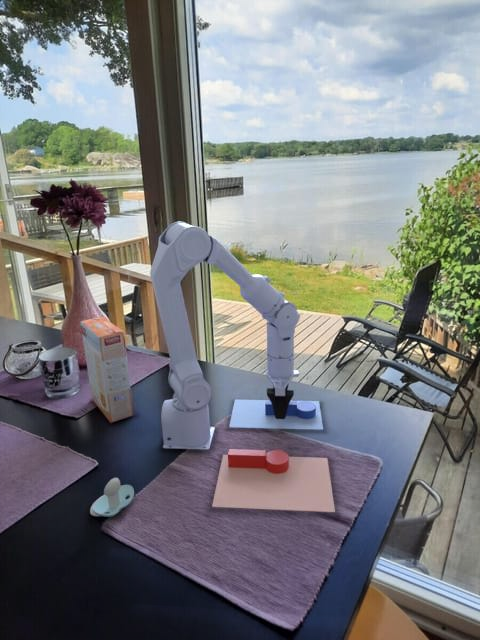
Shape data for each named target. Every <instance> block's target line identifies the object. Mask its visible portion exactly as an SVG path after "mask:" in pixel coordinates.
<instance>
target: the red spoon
mask: <svg viewBox="0 0 480 640" xmlns="http://www.w3.org/2000/svg"><path fill="white" fill-rule="evenodd" d="M227 455H228V467H231V468H260V469H267V470H268V471H269V472H271V473H275V474H280V473H284V472H286V471H287V470H288V468H289V457H290V456H289V454H288V453H287V452H286V451H284V450H280V449H272V450H270V451H268V452H267V449H241V448H240V449H237V448H232V449H231V448H228V451H227Z"/></svg>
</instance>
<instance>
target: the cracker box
mask: <svg viewBox="0 0 480 640" xmlns="http://www.w3.org/2000/svg"><path fill="white" fill-rule="evenodd" d="M80 329H81V335H82V343H83V348H84V356H85V362H86V367H87V368H86V369H87V375H88V382H89V389H90V396H91V400H92V401H93V403H94V404H95V405H96V407H97V408H98V409H99V410H100V412H101V413H102V414H103V416H104V417H105V418H106V419H107V420H108V422H109V423H110V424H113V423H115V422H118V421H121V420H125V419H128V418H130V417H133V416H134V406H133V399H132V391H131V383H130V380H131V379H130V372H129V367H128V366H129V364H128V355H127V346H126V338H125V332H124V330H122V329H120V328H119V327H118V326H116V325H115V324H114V323H113V322H111V321H110V320H108V319H107V318H106V317H104V316H99V317H93V318H88V319H83V320H80Z"/></svg>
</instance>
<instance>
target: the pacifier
mask: <svg viewBox="0 0 480 640" xmlns="http://www.w3.org/2000/svg"><path fill="white" fill-rule="evenodd" d="M134 497H135V490H134V487H133V485H131V484H123V485H121V480H120V479H119V478H118V477H113V478H111V479H110V480H109V481H108V482H107V483H106V484H105V487H104V489H103V495H101V496H99V498H97V499H96V500H95V501H94V502H93V503H92V505H91V507H90V509H89V514H90V515H91V516H92V517H106V518H107V517H108V518H109V517H113V516H116V515H117V514H118V513H120V512H121V510H123V509H124V508H126V507H127V506H129V505H130V504H131V503H132V501H133V500H134Z"/></svg>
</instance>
